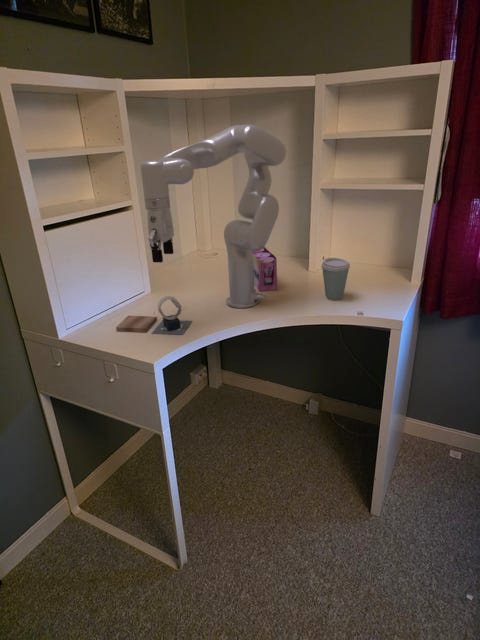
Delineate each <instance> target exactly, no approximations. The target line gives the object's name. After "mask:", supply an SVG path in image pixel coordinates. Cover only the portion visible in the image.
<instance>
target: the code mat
mask: <svg viewBox="0 0 480 640" xmlns="http://www.w3.org/2000/svg"><path fill="white" fill-rule="evenodd" d="M179 320H180V319H179ZM192 323H193V321H192V320H180V327H181V328H180V329H176V330H172V331H168V330H167V329H166V327H165V326H164V323H163V319H162V320H161V321H160V323H158V325H157V326H156V327H155V329H154V330H152V332H151V334H153V335H169V336H170V335H172V336H173V335H175V336H183V335H184V334H185V333H186V331H187V329H188V328H189V327H190V326H191V324H192Z"/></svg>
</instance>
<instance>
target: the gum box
mask: <svg viewBox="0 0 480 640" xmlns="http://www.w3.org/2000/svg"><path fill="white" fill-rule="evenodd" d="M252 254H253V261H254V287H256V290H258V291H259V292H267V291H276V290H278V267H277V265H278V264H277V257H276V256H275V254H273V253H272V252H270V250H268V249H267V248H266V246H264V248H263V249H261V250H259V251H252Z"/></svg>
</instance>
